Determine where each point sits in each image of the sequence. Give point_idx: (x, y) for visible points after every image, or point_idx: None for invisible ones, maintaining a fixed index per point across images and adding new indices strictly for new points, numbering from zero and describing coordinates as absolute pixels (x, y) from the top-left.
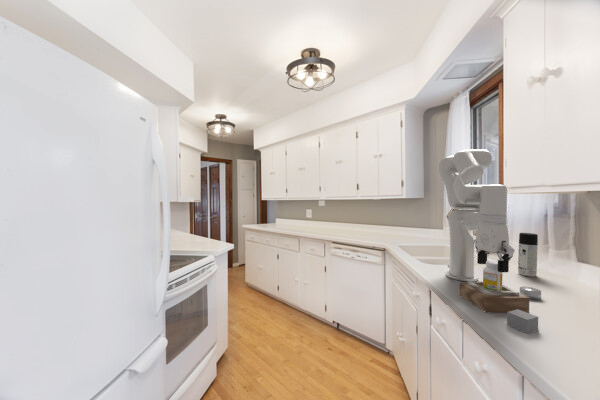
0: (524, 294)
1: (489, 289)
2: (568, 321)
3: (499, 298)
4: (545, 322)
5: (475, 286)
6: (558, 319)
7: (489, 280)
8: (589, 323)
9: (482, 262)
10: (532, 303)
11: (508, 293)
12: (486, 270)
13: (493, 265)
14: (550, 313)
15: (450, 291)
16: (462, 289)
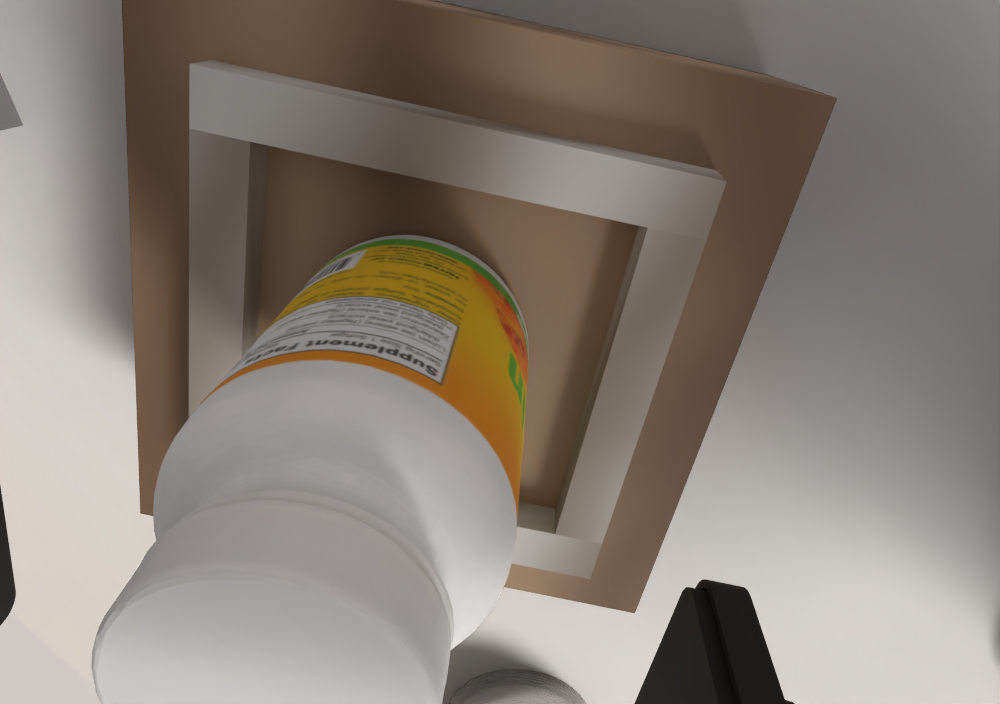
0: (511, 696)
1: (353, 250)
2: (74, 544)
3: (137, 164)
4: (38, 368)
5: (499, 129)
6: (103, 514)
7: (305, 303)
8: (56, 631)
9: (666, 680)
10: None
11: (197, 372)
12: (311, 390)
13: (135, 573)
14: None
15: (934, 63)
16: (722, 68)
